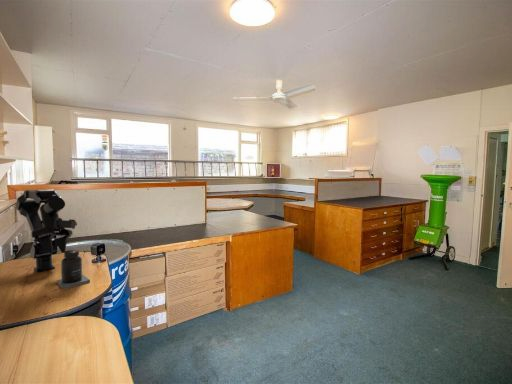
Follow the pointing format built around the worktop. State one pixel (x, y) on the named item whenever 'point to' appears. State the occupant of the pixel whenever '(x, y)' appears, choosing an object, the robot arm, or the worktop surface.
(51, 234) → the robot arm
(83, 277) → the coaster
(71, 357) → the worktop surface
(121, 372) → the worktop surface
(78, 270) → the supplement bottle
